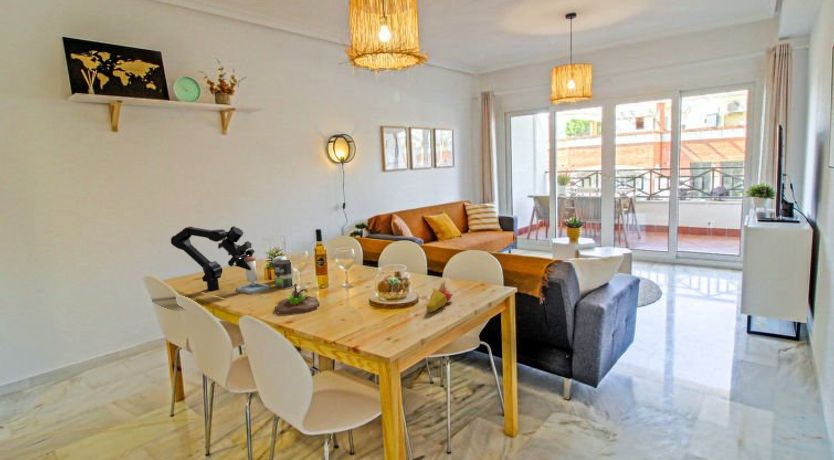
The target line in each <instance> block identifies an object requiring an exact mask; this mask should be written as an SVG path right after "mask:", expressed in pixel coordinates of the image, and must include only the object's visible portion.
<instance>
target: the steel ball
mask: <svg viewBox="0 0 834 460" xmlns="http://www.w3.org/2000/svg"><path fill="white" fill-rule="evenodd" d="M257 283H258V282H257V281H253V282H250V284H251V285H252V286H253V287H255V286H256V285H257Z"/></svg>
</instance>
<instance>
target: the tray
mask: <svg viewBox="0 0 834 460" xmlns="http://www.w3.org/2000/svg"><path fill="white" fill-rule="evenodd" d="M270 289H272V286H271V285H269V284H265V283H259V282H257V285H256V286H255V287H253V286H252V285H251V283H249V284H245V285H241V286H237V287H235V291H237V292H239V293H245V294H249V295H253V294H256V293H260V292H264V291H267V290H270Z"/></svg>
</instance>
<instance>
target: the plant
mask: <svg viewBox="0 0 834 460" xmlns="http://www.w3.org/2000/svg"><path fill="white" fill-rule="evenodd" d="M297 287H298V284H297V283H294V286H293V288H294V290H293V291H292V292H291V295H290V294H287V295H286V296H287V298H285V299H282V300H280V301H279V302H278V303H277V305H276V306H274V311H275V310H276V311H275V313H276V312H279V313H278V315H279V314H289V315H294V314H293V313H296V314H301V313H302V314H303V313H305V312H307V313H309V312H313V311H317V310H318V308H319V307H320V301H319V299H318V298H317V297H315V296H309V295H308V294H305V295H304V292H305V293H309V290H308V289H307V288H303V289H300V290H299V292H298V290H297ZM303 291H304V292H303Z"/></svg>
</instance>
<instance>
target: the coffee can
mask: <svg viewBox="0 0 834 460" xmlns="http://www.w3.org/2000/svg"><path fill="white" fill-rule="evenodd" d="M290 260H291V259H287V260H280V261H276V262H273V261H272V266H274V267H273V273H274V274H273V276H274V286H275V288H276V289H283V290H284V291H285V290H290V289H293V288H294V284H295V276H294V268H293V269H292V268H291V262H290Z"/></svg>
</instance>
